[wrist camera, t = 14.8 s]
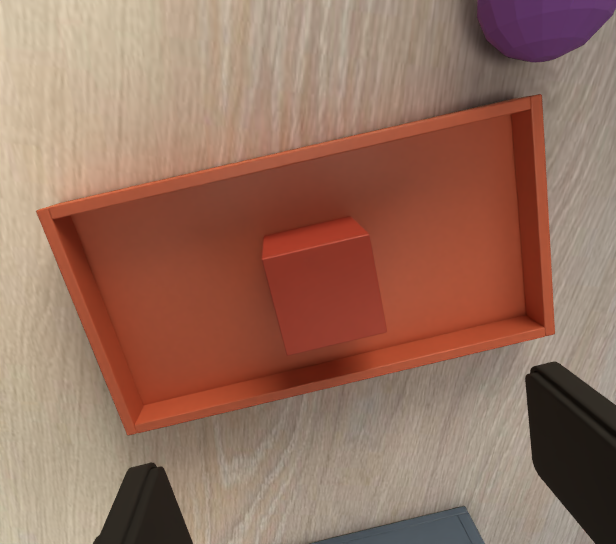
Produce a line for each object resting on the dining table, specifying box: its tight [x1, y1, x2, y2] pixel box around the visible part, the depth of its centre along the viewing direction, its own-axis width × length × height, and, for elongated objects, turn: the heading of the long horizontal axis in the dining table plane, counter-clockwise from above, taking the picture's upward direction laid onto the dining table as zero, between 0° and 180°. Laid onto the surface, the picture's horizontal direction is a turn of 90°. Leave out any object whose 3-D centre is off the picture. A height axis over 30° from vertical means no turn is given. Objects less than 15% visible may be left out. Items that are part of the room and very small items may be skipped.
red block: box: [262, 216, 387, 356], centre depth 23 cm, size 5×5×5 cm
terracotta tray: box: [36, 94, 555, 435], centre depth 25 cm, size 25×13×3 cm, turn 102°
